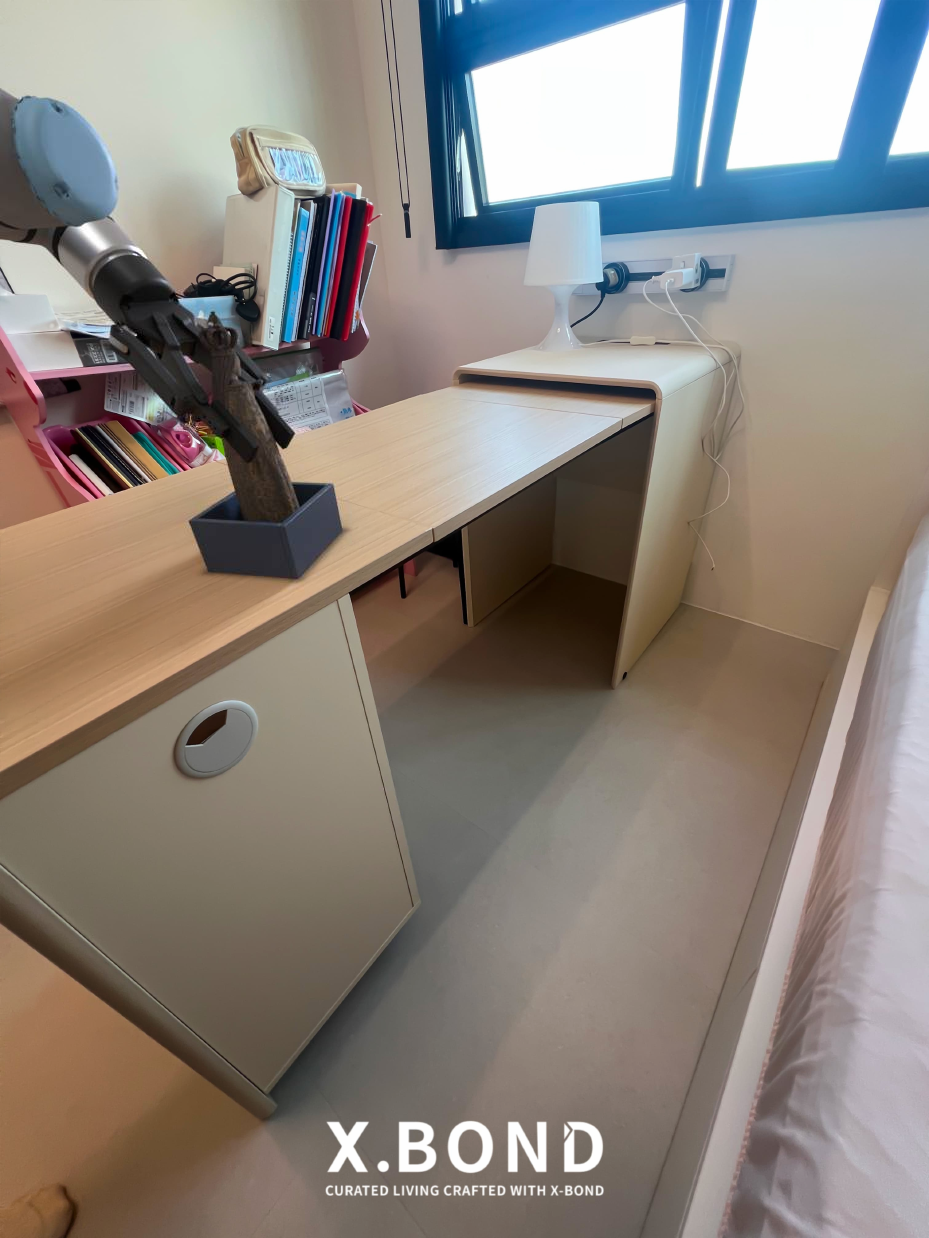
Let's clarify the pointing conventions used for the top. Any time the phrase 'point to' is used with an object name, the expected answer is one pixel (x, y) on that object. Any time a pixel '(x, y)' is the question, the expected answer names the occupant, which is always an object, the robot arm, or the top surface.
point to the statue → (266, 477)
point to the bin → (268, 535)
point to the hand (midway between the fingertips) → (271, 447)
